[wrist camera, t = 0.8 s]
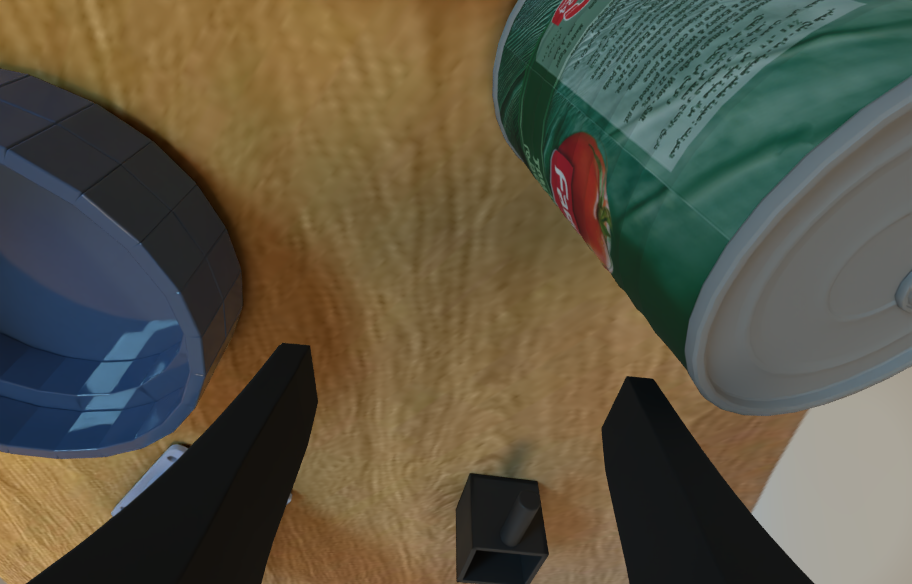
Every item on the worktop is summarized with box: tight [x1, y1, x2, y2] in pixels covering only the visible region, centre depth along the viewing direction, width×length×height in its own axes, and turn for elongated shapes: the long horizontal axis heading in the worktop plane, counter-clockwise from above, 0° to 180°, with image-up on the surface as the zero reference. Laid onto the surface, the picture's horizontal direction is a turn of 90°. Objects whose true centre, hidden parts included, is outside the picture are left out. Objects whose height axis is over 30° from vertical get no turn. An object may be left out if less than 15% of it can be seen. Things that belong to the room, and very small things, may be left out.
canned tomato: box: [492, 0, 912, 416], centre depth 13 cm, size 8×8×11 cm
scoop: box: [456, 474, 549, 584], centre depth 30 cm, size 8×4×5 cm, turn 168°
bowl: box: [0, 69, 243, 459], centre depth 20 cm, size 15×15×5 cm
